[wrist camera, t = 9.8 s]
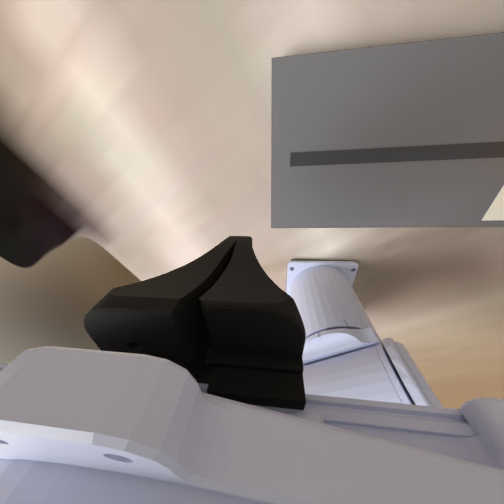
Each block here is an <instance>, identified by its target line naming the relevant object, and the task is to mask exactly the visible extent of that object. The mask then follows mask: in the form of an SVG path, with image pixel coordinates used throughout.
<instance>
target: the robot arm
mask: <svg viewBox="0 0 504 504" xmlns="http://www.w3.org/2000/svg"><path fill="white" fill-rule="evenodd" d="M291 267H293V269H291ZM358 267H359V265H358V263H357V262H355V261H294V260H292V261H289V262H288V271H287V287H286V292H284V291H283V290H281V289H280V288H279V287H278V286H277V285H276V284H275V283H274V282H273V281H272V280H271V279H270V278H269V277H268V276H267V274H266V273H265V272H264V270H263V269H262V267H261V266H260V264H259V262H258V260H257V258H256V256H255V254H254V251H253V248H252V238H251V237H248V236H230V237H228V238H227V239H225V240H224V241H223V242H221V243H220V244H219V245H217V246H216V247H214V248H213V249H212V250H210V251H209V252H207V253H206V254H204V255H203V256H201V257H199V258H198V259H196V260H194V261H192V262H190V263H189V264H187V265H185V266H182V267H180V268H178V269H175V270H173V271H171V272H168V273H166V274H163V275H160V276H157V277H154V278H151V279H148V280H145V281H141V282H138V283H134V284H130V285H126V286H122V287H118V288H113V289H112V290H111V291H110V292H109V293H108V294H107V295H106V296H105V297H104V298H103V299H101V300H100V301H99V302H98V303H97V304H96V305H95V306H94V307H93V308H92V309H91V310H90V311H89V312H88V313H87V314H86V315H85V318H84V325H85V329H86V331H87V333H88V334H89V335H90V337H91V338H92V339H93V341H94V342H95V343H96V344H97V346H98V347H99V348H100V349H101V351H100V350H89V349H77V348H65V347H53V346H47V347H39V348H32V349H27V350H25V351H24V352H23V353H22V354H20V355H19V356H18V357H17V358H16V359H14V360H13V361H12V362H11V363H10V364H2V363H0V504H504V399H498V398H475V399H471V400H469V401H467V402H465V403H464V404H463V405H462V406H461V408H460V409H452V408H443V407H442V405H441V403H440V402H439V400H438V399H437V397H436V396H435V394H434V392H433V391H432V389H431V388H430V386H429V384H428V383H427V381H426V380H425V378H424V377H423V375H422V373H421V372H420V370H419V369H418V367H417V366H416V364H415V362H414V361H413V359H412V358H411V356H410V355H409V353H408V351H407V350H406V348H405V347H404V345H403V344H401V343H399V342H397V341H393V339H391V338H386V339H383V340H381V339H380V337H379V336H378V334H377V332H376V331H375V329H374V327H373V325H372V323H371V321H370V319H369V317H368V315H367V314H366V312H365V310H364V308H363V306H362V304H361V302H360V300H359V299H358V297H357V295H356V293H355V291H354V289H353V283H354V280H355V277H356V274H357V270H358ZM352 268H354V269H353V270H351V269H352ZM382 341H383V342H382Z"/></svg>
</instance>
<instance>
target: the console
mask: <svg viewBox="0 0 504 504" xmlns="http://www.w3.org/2000/svg"><path fill="white" fill-rule="evenodd" d="M360 227H504V32H503V33H494V34H485V35H476V36H467V37H458V38H449V39H439V40H430V41H421V42H412V43H403V44H394V45H385V46H376V47H367V48H358V49H349V50H340V51H331V52H322V53H313V54H304V55H295V56H286V57H276V58H272V161H271V228H360Z"/></svg>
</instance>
